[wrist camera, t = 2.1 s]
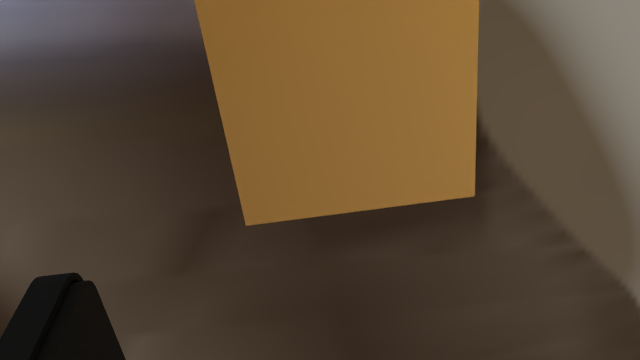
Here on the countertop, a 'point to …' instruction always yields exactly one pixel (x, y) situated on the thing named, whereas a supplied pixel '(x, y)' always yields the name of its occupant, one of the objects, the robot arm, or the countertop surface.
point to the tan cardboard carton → (344, 102)
